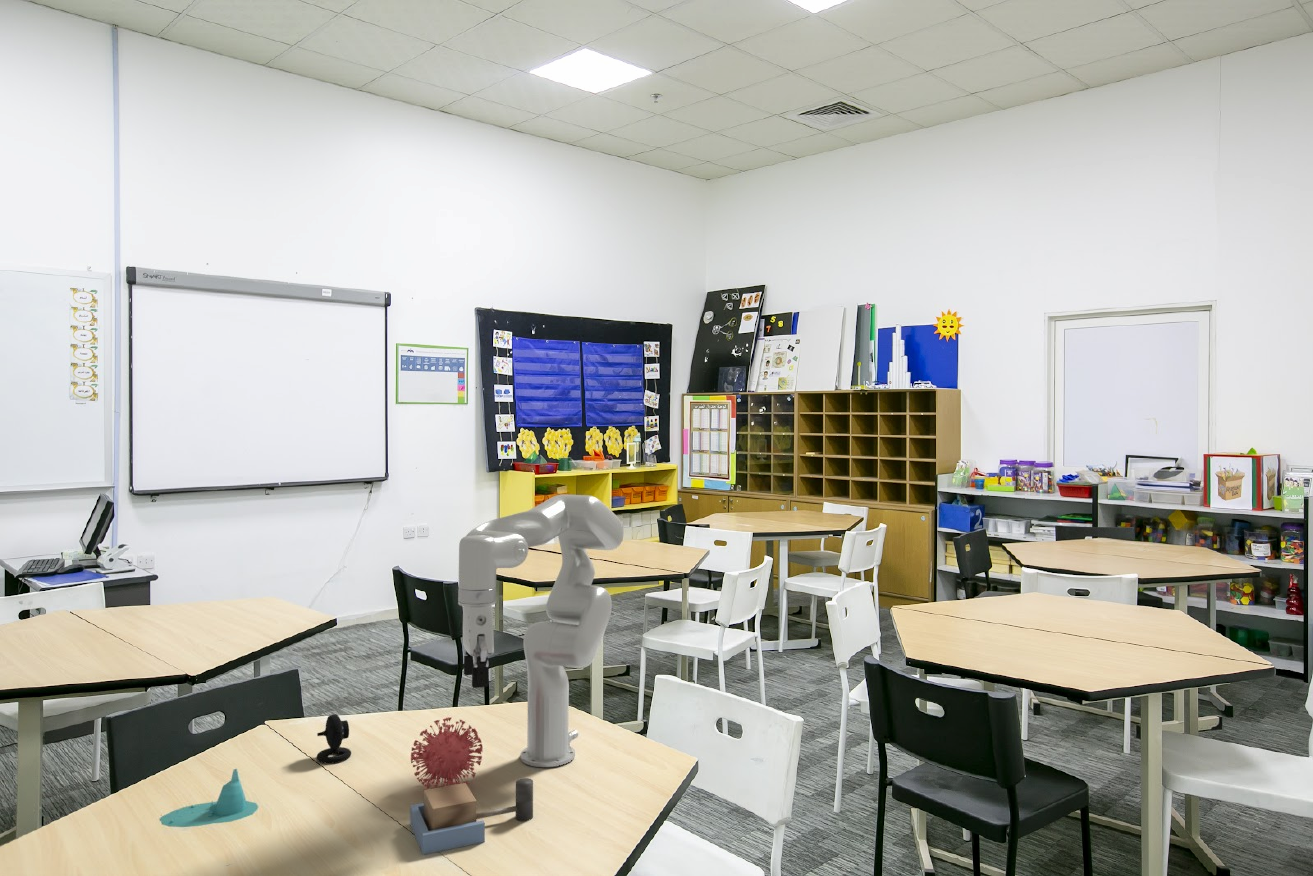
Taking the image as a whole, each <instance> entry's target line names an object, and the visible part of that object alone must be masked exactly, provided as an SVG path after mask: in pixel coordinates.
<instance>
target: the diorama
mask: <svg viewBox="0 0 1313 876" xmlns="http://www.w3.org/2000/svg"><path fill="white" fill-rule="evenodd" d="M258 809H259V805H258V804H257V802H252V801H249V800H246V796H245V793H244V789H243V786H242V784H241V779H240V776H239V771H238V768H235V769H233V770H232V776H231V778H230V780H229V781H228V782H227V783H225V784H223V785H222V788H221V790H220V794H219V796H218V799H217V801H213V800H212V801H211V802H204V803H198V804H197V803H196V804H192V805H188V806H183V807H181V808H178V809H174V810H172V811H169V813H166V814H164V815H162V814H161V815H160V816H161V817H160V818H159V817H158V818H159V819H158V820H159V822H160V823H161V825H162V826H167V827H170V828H173V827H174V828H186V827H187V828H188V827H201V826H202V827H203V826H207V825H212V824H221V823H229V822H235V821H238V820H241V819H244V818H247V817H249V816H253V815H254V813H255V812H256V811H258Z"/></svg>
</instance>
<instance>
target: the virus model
mask: <svg viewBox="0 0 1313 876" xmlns="http://www.w3.org/2000/svg"><path fill="white" fill-rule="evenodd" d="M451 720H452V717H446V718H443V719H442V721H443V722H442V723H441V725H440V721H441V720H440V719H436V720H434V721H433V723H434V724H435V725H436V726H437V728H438V734H437V733H436V731H435V730H434V728H433V726H432V725H429V727H430V728H431V729H432V731H433V733H432V732H428V729H426V728H425V730H422V731H421V732H420V733H419V737H421V736H422V737H423V739H422V742H423V743H422V742H420V741H419V740H414V742H413V747H412V746H411V752H410V753H411V754H410V764H412V768H415V767H416V769H415V770H416V771H415V772H414V776H415V777H417V778H416V779H417V781H418V782H419V783H421V785H422V786H424V787H425V788H426V789H430V786H431V785H432V788H431V789H433V788H437V786H438V785H439V783H442V784H441V786H440V787H444V786H450V785H456V784H461V781H463V782H462V783H466V784H467V785H468V784H469V781H468V780H466V778H468V777H469V774H471V777H472V778H473V779H474V778H475V776H476V772H475V771H474V770H475V764H474V763H476V764H477V765H478V766H481V763H482V760H483V755H482V753H483V744H482V739H481V738H480V737H479V733H478V731H477V729H476V728H475V727H473V728H472V725H470V724H468V727H467V728H465V727H464V725H465V724H466V720H462V719H459V721H455V724H456V726H455V725H454V724H453V723H451V724H447V723H450V722H451ZM460 723H461V724H460ZM457 725H458V726H457ZM459 727H460V728H459ZM453 729H454V730H453ZM460 731H461V732H460ZM471 734H472V735H471ZM424 742H426V743H427V744H424ZM473 753H475V754H478V755H473ZM475 760H476V761H475ZM414 762H415V763H416V764H413V763H414ZM422 768H423V769H422ZM420 769H421V770H420ZM419 770H420V771H419ZM425 770H426V771H425ZM421 773H422V774H421ZM420 774H421V775H420ZM419 775H420V776H419ZM462 777H463V778H462ZM460 779H461V781H460ZM454 781H455V782H454Z"/></svg>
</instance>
